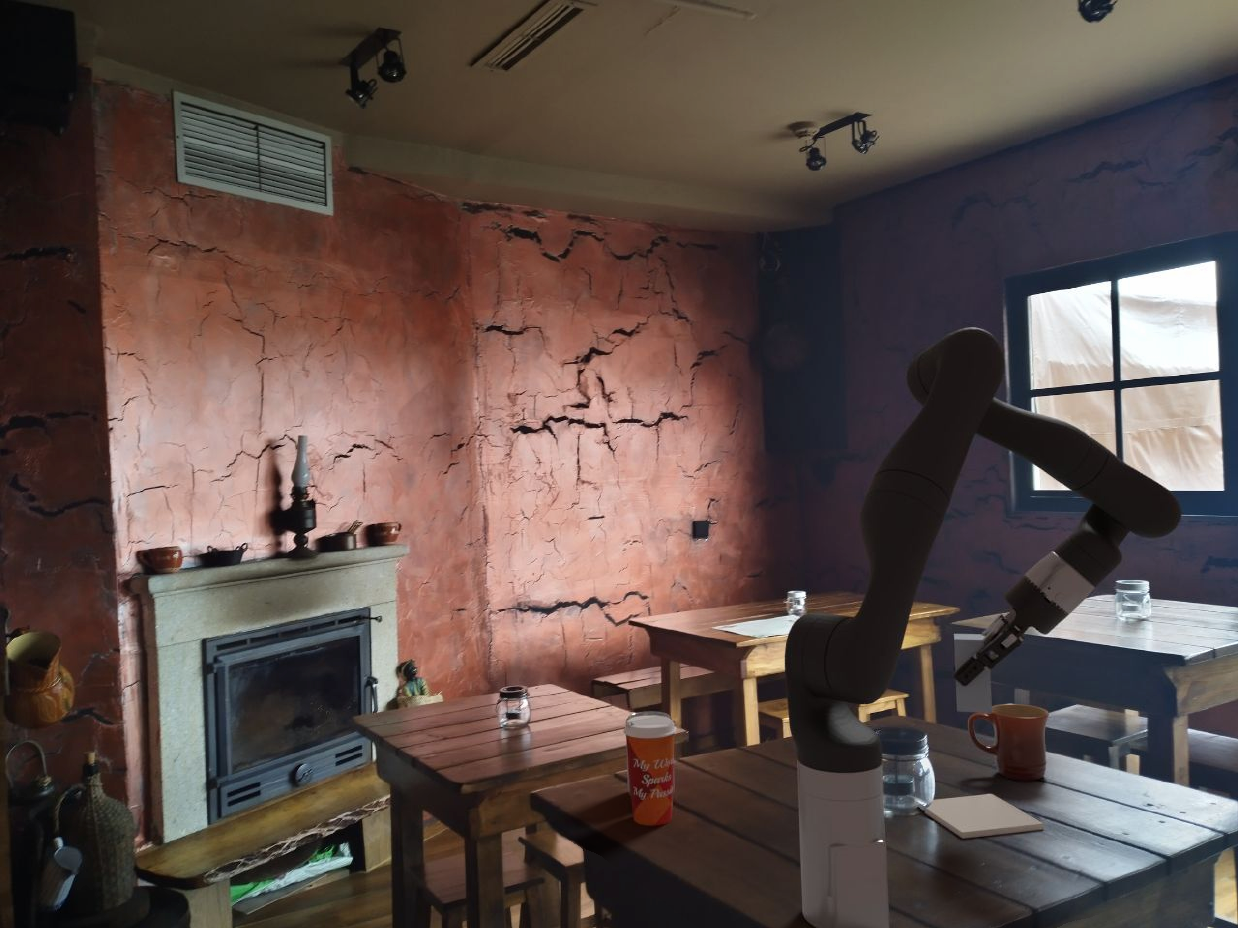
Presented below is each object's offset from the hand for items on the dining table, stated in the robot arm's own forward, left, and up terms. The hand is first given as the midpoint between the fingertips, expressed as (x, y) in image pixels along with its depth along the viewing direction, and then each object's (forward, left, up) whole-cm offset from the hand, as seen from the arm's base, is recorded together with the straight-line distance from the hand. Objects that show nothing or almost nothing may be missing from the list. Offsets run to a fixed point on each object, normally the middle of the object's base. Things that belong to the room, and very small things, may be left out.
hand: (958, 676), depth 130 cm
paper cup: (+11, +42, -20) cm, 48 cm away
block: (-1, -2, -4) cm, 5 cm away
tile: (-1, -2, -20) cm, 20 cm away
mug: (+14, -17, -20) cm, 30 cm away
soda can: (+21, +40, -20) cm, 50 cm away
